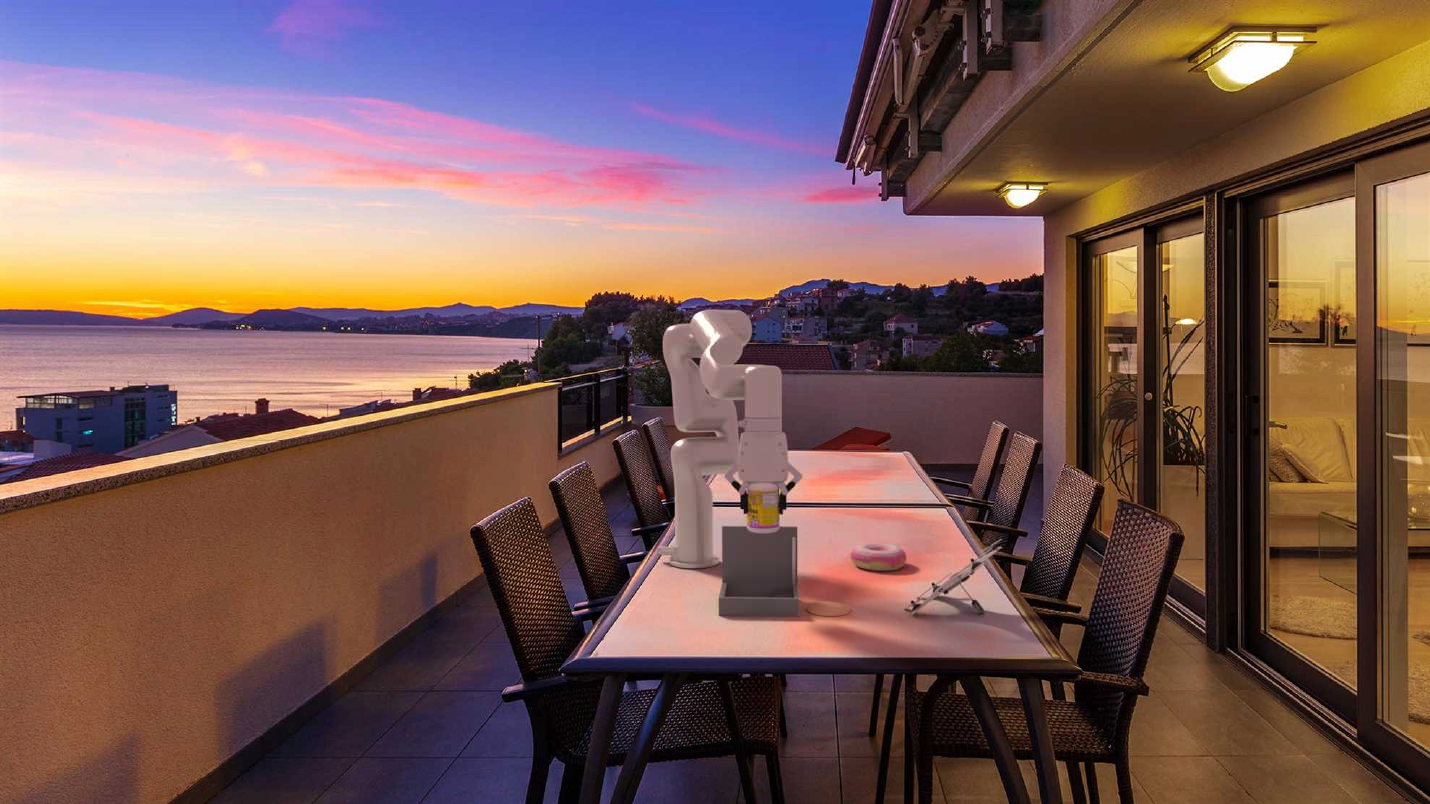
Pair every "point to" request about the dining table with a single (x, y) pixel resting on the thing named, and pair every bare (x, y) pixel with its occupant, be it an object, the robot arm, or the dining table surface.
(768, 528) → the supplement bottle
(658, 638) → the dining table surface
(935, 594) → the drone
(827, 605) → the pad
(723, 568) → the case
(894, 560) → the donut
